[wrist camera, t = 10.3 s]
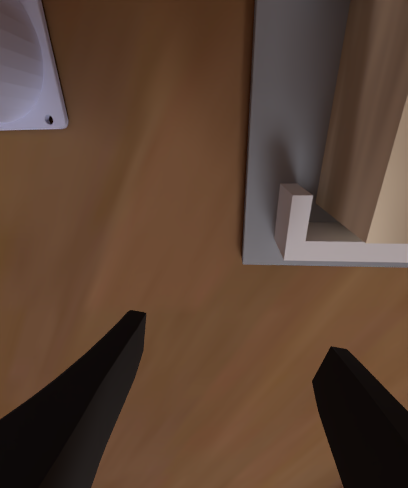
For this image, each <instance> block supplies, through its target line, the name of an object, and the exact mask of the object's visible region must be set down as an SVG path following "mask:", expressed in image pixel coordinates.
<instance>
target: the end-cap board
mask: <svg viewBox="0 0 408 488" xmlns="http://www.w3.org/2000/svg"><path fill="white" fill-rule="evenodd" d="M350 1H351V0H255V10H254V29H253V49H252V69H251V88H250V108H249V127H248V147H247V166H246V186H245V205H244V225H243V245H242V262H243V264H255V265H308V266H360V267H408V244H380V243H365V242H363V241H362V240H361V239H360V238H358V237H357V236H356V235H355V234H353V233H352V232H351V231H350V230H348V229H347V228H346V227H345V226H343V225H342V224H341V223H340V222H338V221H337V220H336V219H335V218H333V217H332V216H331V215H330V214H328V213H327V212H326V211H325V210H323V209H322V208H321V207H320V206H318V205H317V204H316V197H317V191H318V186H319V180H320V174H321V168H322V163H323V157H324V151H325V145H326V139H327V134H328V128H329V122H330V116H331V111H332V105H333V99H334V93H335V87H336V82H337V76H338V70H339V64H340V59H341V53H342V47H343V41H344V35H345V30H346V24H347V18H348V12H349V7H350Z"/></svg>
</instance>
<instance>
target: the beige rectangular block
mask: <svg viewBox="0 0 408 488" xmlns="http://www.w3.org/2000/svg"><path fill="white" fill-rule="evenodd" d="M316 204H317V205H318V206H320V207H321V208H322V209H323V210H325V211H326V212H327V213H328V214H330V215H331V216H332V217H333V218H335V219H336V220H337V221H338V222H340V223H341V224H342V225H343V226H345V227H346V228H347V229H348V230H350V231H351V232H352V233H353V234H355V235H356V236H357V237H358V238H360V239H361V240H362V241H363V242H365V243H380V244H408V0H351V1H350V7H349V12H348V18H347V24H346V30H345V35H344V41H343V47H342V53H341V59H340V64H339V70H338V76H337V82H336V87H335V93H334V99H333V105H332V111H331V116H330V122H329V128H328V134H327V139H326V145H325V151H324V157H323V163H322V168H321V174H320V180H319V186H318V191H317V197H316Z"/></svg>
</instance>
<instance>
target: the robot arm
mask: <svg viewBox="0 0 408 488" xmlns="http://www.w3.org/2000/svg"><path fill="white" fill-rule="evenodd" d="M50 116H51V117H52V118H53V124H51V123H50V121H49V117H50ZM67 126H68V117H67V112H66V108H65V104H64V99H63V95H62V90H61V86H60V81H59V77H58V73H57V68H56V64H55V59H54V55H53V51H52V46H51V42H50V37H49V33H48V29H47V24H46V20H45V15H44V11H43V6H42V2H41V0H0V130H36V129H64V128H66V127H67ZM145 323H146V313H144V312H139V311H133V310H130V311H128V312H127V313H126V314H125V315H124V316H123V318H122V319H121V320H120V321H119V322H118V323H117V324H116V325H115V326H114V327H113V328H112V329H111V330H110V331H109V332H108V333H107V334H106V335H105V336H104V337H103V338H102V339H101V340H99V341H98V342H97V343H96V344H95V345H94V346H93V347H92V348H91V349H90V350H89V351H88V352H87V353H85V354H84V355H83V356H82V357H81V358H80V359H78V360H77V361H76V362H75V363H74V364H73V365H71V366H70V367H69V368H68V369H67V370H66V371H64V372H63V373H62V374H61V375H60V376H58V377H57V378H56V379H55V380H53V381H52V382H51V383H50V384H48V385H47V386H46V387H44V388H43V389H42V390H40V391H39V392H38V393H36V394H35V395H34V396H32V397H31V398H30V399H28V400H27V401H26V402H24V403H23V404H21V405H20V406H19V407H17V408H16V409H14V410H13V411H11V412H10V413H9V414H7V415H6V416H4V417H3V418H1V419H0V488H91V486H92V483H93V480H94V477H95V475H96V472H97V469H98V466H99V463H100V460H101V457H102V455H103V452H104V450H105V447H106V444H107V442H108V440H109V437H110V435H111V433H112V430H113V428H114V426H115V423H116V421H117V419H118V416H119V414H120V412H121V409H122V407H123V404H124V402H125V400H126V397H127V395H128V393H129V390H130V388H131V386H132V383H133V381H134V378H135V375H136V372H137V369H138V366H139V363H140V360H141V356H142V353H143V348H144V335H145ZM312 383H313V388H314V394H315V399H316V403H317V407H318V412H319V415H320V418H321V421H322V424H323V427H324V430H325V433H326V436H327V439H328V442H329V445H330V448H331V451H332V454H333V457H334V460H335V463H336V466H337V469H338V472H339V475H340V478H341V481H342V484H343V487H344V488H408V411H407V410H406V409H405V408H404V407H403V406H402V405H401V404H400V403H399V402H398V401H397V400H396V399H395V398H394V397H393V396H392V395H391V394H390V393H389V392H388V391H387V390H386V389H385V388H384V387H383V386H382V384H381V383H380V382H379V381H378V380H377V379H376V378H375V377H374V376H373V375H372V374H371V373H370V372H369V371H368V370H367V369H366V368H365V367H364V366H363V365H362V364H361V363H360V362H359V361H358V360H357V359H356V358H355V357H354V356H353V355H352V354H351V353H350V352H349V351H348V350H347V349H343V348H337V347H332V346H331V347H330V349H329V351H328V353H327V355H326V356H325V358H324V360H323V362H322V364H321V366H320V368H319V369H318V371H317V373H316V375H315V377H314V379H313V380H312Z"/></svg>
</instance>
